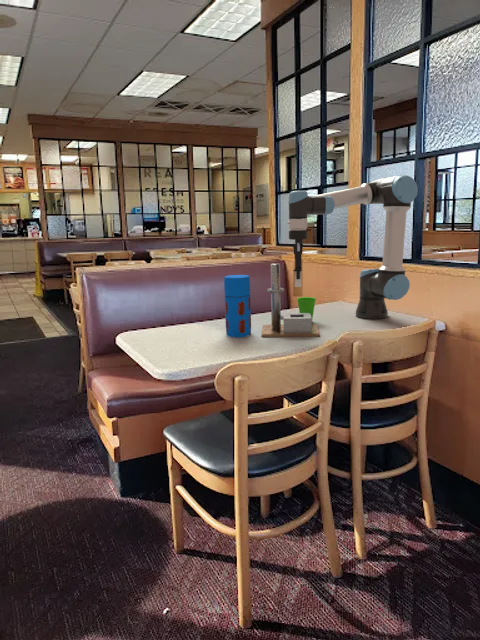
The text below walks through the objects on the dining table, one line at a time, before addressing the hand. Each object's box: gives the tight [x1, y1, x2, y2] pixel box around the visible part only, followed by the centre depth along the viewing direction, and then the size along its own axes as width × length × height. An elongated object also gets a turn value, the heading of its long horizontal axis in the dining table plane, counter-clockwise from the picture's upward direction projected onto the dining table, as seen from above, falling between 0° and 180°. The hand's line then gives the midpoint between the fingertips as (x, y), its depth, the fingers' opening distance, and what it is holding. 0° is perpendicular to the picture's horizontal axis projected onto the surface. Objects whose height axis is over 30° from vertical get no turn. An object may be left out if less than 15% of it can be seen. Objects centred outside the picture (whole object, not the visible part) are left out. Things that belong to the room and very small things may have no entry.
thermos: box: [223, 274, 252, 338], centre depth 206 cm, size 11×11×25 cm
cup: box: [296, 296, 317, 319], centre depth 228 cm, size 9×9×11 cm
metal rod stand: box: [261, 263, 321, 338], centre depth 208 cm, size 24×18×29 cm
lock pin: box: [292, 259, 304, 297], centre depth 204 cm, size 4×4×15 cm
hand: (297, 285), depth 205 cm, fingers closed on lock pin, 4 cm apart
